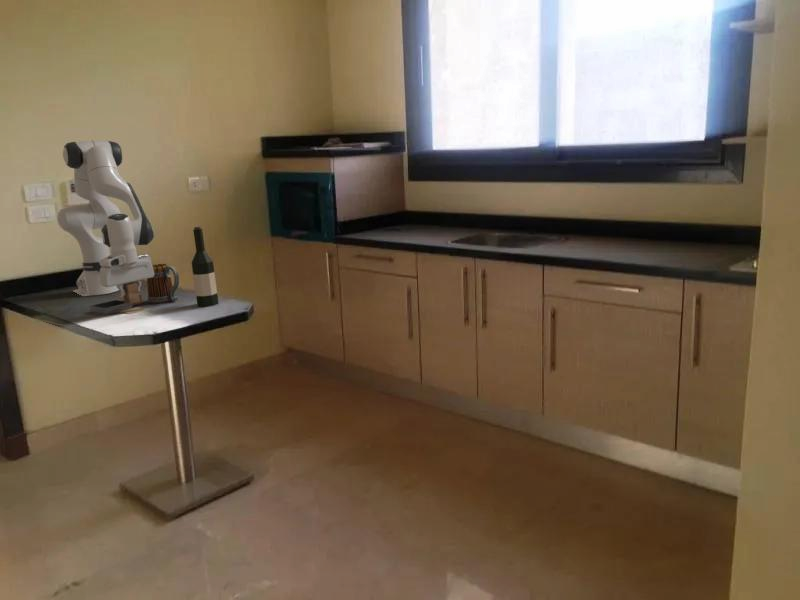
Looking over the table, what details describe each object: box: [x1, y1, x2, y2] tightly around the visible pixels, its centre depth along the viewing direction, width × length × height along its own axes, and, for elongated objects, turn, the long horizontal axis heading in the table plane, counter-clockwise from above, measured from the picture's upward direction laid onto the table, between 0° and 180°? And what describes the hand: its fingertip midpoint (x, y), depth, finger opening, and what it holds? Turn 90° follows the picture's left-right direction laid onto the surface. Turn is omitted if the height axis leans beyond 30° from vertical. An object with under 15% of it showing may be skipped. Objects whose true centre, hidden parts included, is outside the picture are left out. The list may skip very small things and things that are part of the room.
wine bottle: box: [190, 226, 219, 308], centre depth 256 cm, size 8×8×30 cm
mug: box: [146, 263, 180, 305], centre depth 267 cm, size 16×11×15 cm
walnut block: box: [122, 282, 140, 304], centre depth 254 cm, size 4×4×7 cm
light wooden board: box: [118, 306, 149, 315], centre depth 256 cm, size 8×8×1 cm
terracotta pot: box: [118, 293, 143, 306], centre depth 268 cm, size 6×6×4 cm
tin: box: [89, 299, 133, 316], centre depth 258 cm, size 11×11×3 cm
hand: (130, 294), depth 254 cm, fingers closed on walnut block, 4 cm apart
